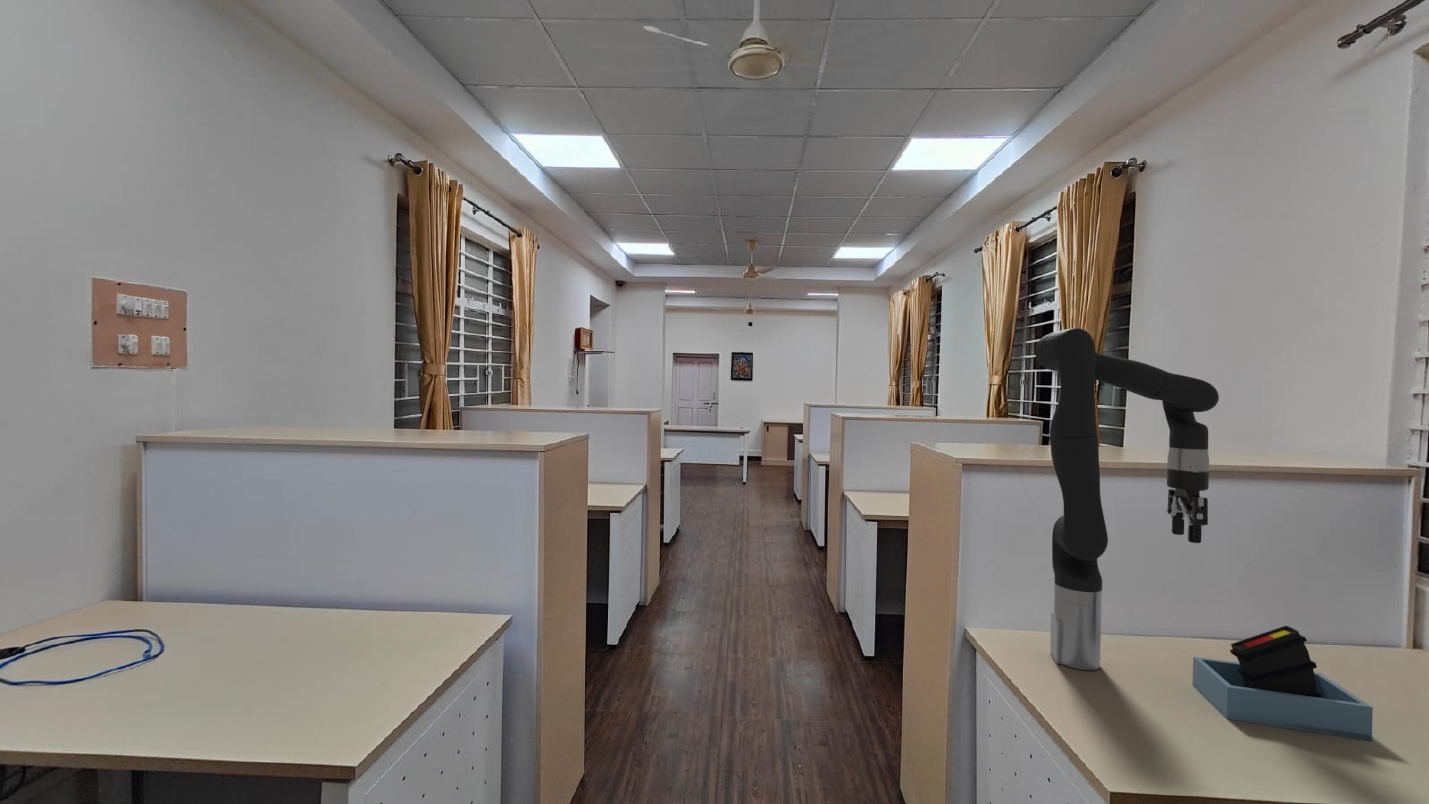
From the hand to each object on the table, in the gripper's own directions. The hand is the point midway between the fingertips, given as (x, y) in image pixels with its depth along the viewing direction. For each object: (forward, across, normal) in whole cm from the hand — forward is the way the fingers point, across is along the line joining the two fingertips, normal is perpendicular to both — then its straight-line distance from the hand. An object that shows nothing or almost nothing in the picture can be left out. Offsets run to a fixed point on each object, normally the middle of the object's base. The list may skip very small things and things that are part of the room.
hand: (1185, 538), depth 136 cm
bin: (+28, +21, +7) cm, 36 cm away
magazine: (+27, +21, +7) cm, 35 cm away
